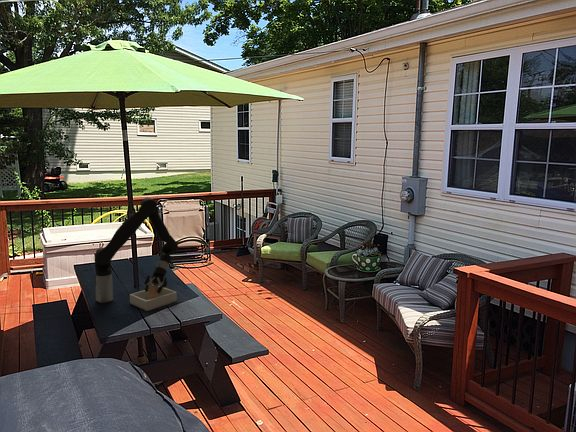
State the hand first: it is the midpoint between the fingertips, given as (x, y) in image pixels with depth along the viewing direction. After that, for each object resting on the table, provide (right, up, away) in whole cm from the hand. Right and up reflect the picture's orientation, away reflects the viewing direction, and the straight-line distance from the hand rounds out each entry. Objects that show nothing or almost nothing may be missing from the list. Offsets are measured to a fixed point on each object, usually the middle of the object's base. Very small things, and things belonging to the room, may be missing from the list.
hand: (152, 292), depth 284 cm
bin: (0, -7, +3) cm, 7 cm away
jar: (0, -6, +3) cm, 6 cm away
